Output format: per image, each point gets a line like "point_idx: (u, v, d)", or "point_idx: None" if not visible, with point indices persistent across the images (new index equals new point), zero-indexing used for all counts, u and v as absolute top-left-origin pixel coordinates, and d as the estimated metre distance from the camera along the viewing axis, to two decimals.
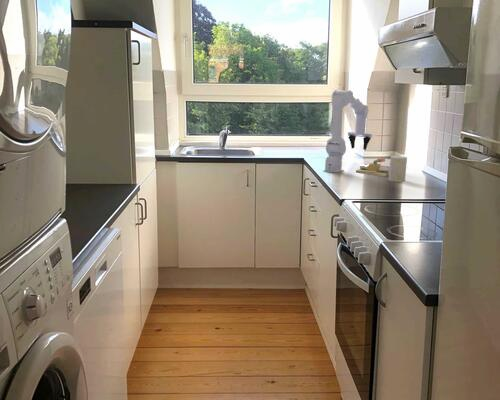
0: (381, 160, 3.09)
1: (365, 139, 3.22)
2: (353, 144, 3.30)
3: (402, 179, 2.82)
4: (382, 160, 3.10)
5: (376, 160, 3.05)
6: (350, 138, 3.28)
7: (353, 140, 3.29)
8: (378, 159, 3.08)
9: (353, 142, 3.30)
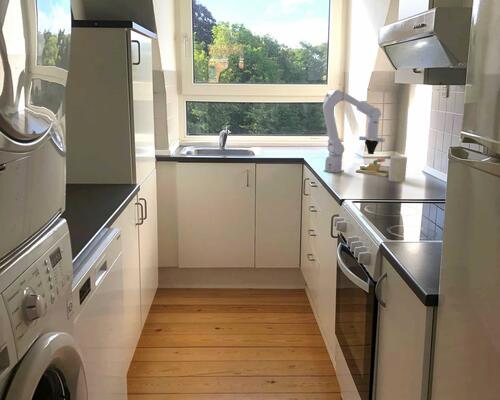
0: (381, 160, 3.09)
1: (373, 143, 3.07)
2: (370, 149, 3.12)
3: (402, 179, 2.82)
4: (382, 160, 3.10)
5: (376, 160, 3.05)
6: (367, 143, 3.09)
7: (370, 145, 3.11)
8: (378, 159, 3.08)
9: (370, 147, 3.11)
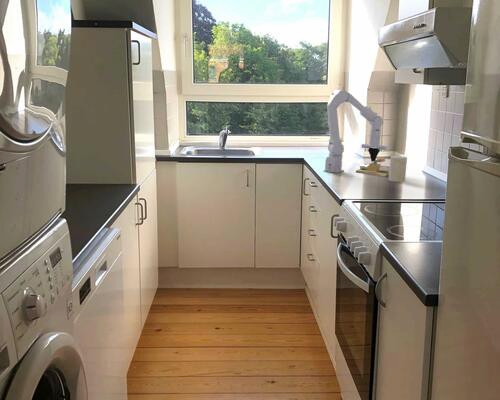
0: (381, 160, 3.09)
1: (374, 151, 3.07)
2: None
3: (402, 179, 2.82)
4: (382, 160, 3.10)
5: (376, 160, 3.05)
6: (370, 151, 3.09)
7: None
8: (378, 159, 3.08)
9: None
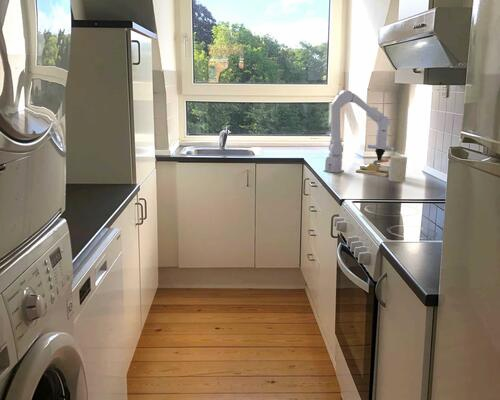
0: (383, 160, 3.08)
1: (379, 152, 3.06)
2: (380, 158, 3.09)
3: (402, 179, 2.82)
4: (384, 160, 3.09)
5: (376, 160, 3.05)
6: (377, 152, 3.07)
7: None
8: (380, 159, 3.08)
9: (380, 156, 3.09)
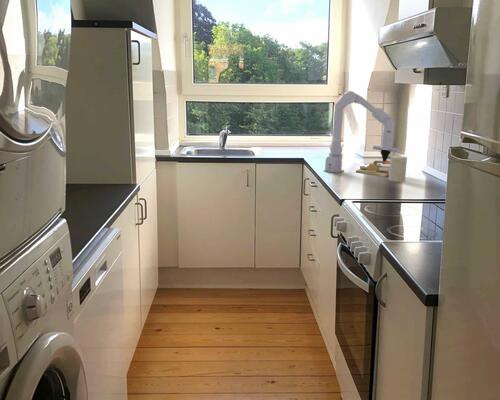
0: (386, 162, 3.02)
1: (385, 153, 3.02)
2: (385, 159, 3.05)
3: (402, 179, 2.82)
4: (389, 162, 3.02)
5: None
6: (382, 153, 3.03)
7: (385, 155, 3.04)
8: None
9: (385, 157, 3.05)
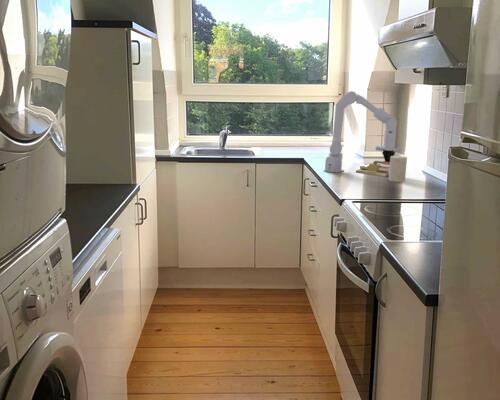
0: (384, 162, 3.00)
1: (389, 154, 2.98)
2: (387, 160, 3.02)
3: (402, 179, 2.82)
4: (386, 163, 2.99)
5: (377, 161, 3.03)
6: (384, 154, 3.00)
7: None
8: (383, 161, 3.01)
9: None
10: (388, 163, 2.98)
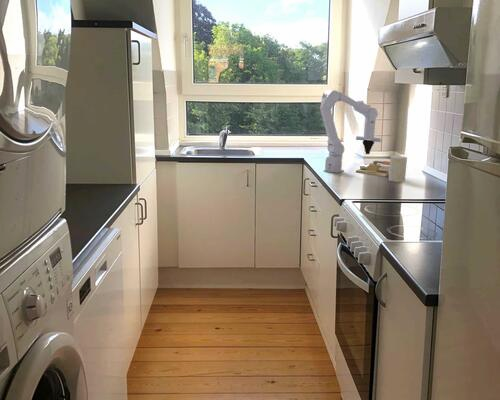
0: (384, 162, 3.00)
1: (368, 143, 3.08)
2: None
3: (402, 179, 2.82)
4: (386, 163, 2.99)
5: (377, 161, 3.03)
6: (364, 143, 3.09)
7: None
8: (383, 161, 3.01)
9: None
10: (388, 163, 2.98)
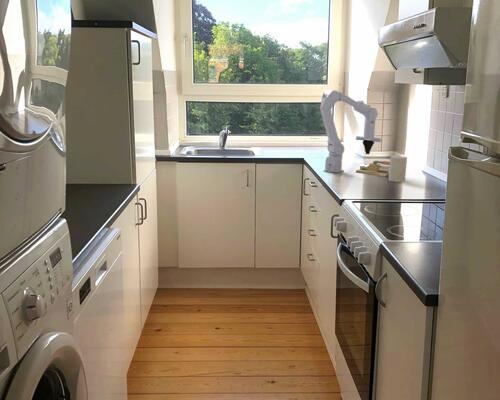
0: (384, 162, 3.00)
1: (368, 143, 3.08)
2: None
3: (402, 179, 2.82)
4: (386, 163, 2.99)
5: (377, 161, 3.03)
6: (364, 143, 3.09)
7: None
8: (383, 161, 3.01)
9: None
10: (388, 163, 2.98)
